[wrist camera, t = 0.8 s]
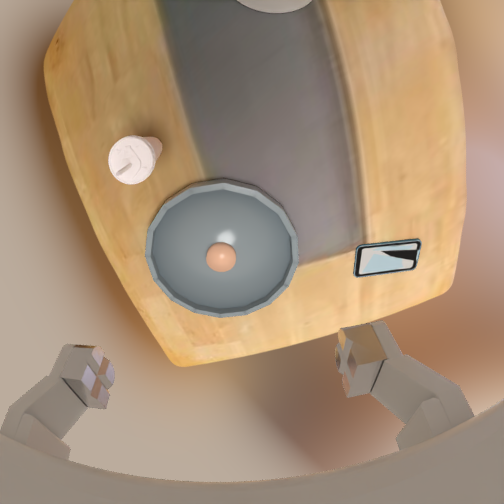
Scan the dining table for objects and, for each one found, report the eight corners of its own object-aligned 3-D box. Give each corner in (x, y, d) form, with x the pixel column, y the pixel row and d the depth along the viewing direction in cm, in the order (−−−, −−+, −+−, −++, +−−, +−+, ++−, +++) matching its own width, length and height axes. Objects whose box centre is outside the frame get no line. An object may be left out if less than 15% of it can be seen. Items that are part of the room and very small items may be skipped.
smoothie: (135, 170, 42) (99, 199, 30) (129, 132, 39) (88, 148, 27) (173, 164, 42) (147, 192, 30) (168, 125, 39) (138, 136, 27)
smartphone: (356, 245, 51) (422, 239, 50) (355, 243, 51) (420, 237, 51) (353, 278, 54) (415, 269, 54) (351, 275, 55) (413, 267, 55)
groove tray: (132, 194, 44) (127, 199, 42) (290, 170, 43) (293, 174, 41) (171, 313, 57) (169, 322, 55) (297, 299, 56) (300, 307, 54)
